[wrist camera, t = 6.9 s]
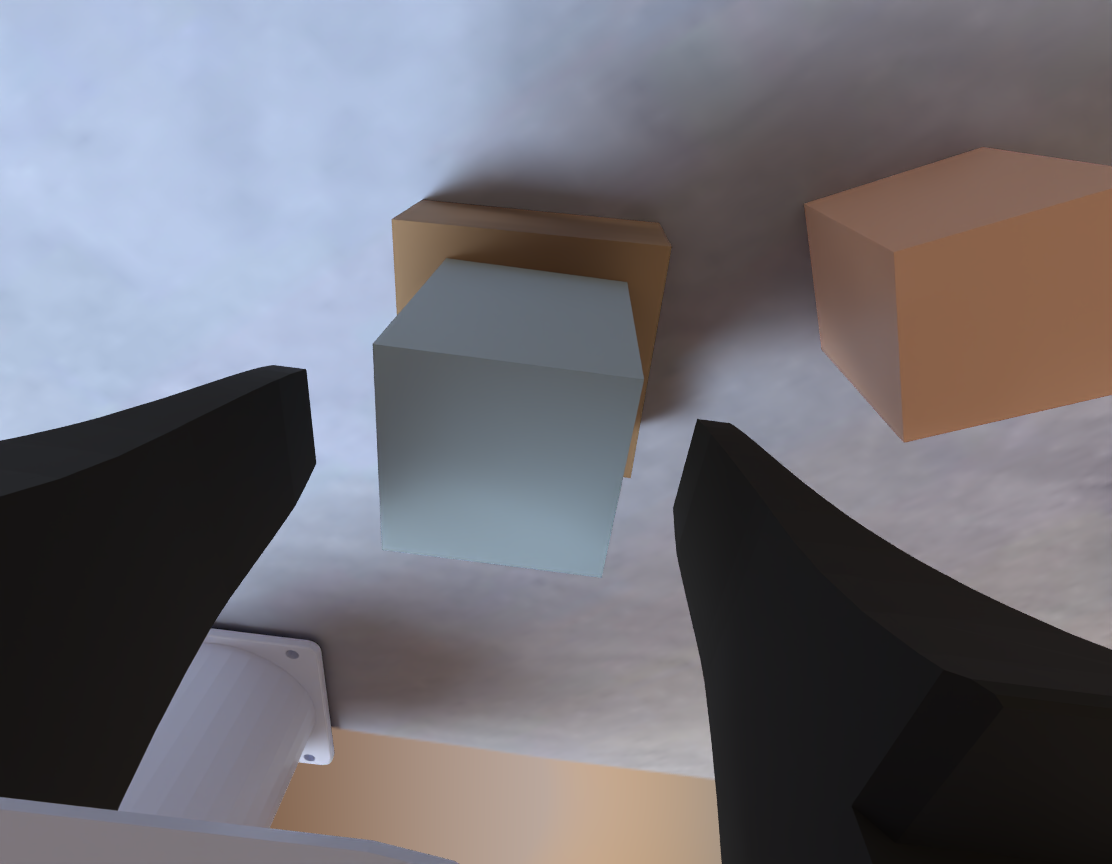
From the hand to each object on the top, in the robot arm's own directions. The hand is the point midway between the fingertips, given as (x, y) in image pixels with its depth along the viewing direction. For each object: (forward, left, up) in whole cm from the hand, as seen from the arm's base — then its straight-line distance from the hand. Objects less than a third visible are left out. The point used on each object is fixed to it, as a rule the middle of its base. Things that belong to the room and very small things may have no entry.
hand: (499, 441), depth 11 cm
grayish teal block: (0, 0, -4) cm, 4 cm away
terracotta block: (+9, +3, -6) cm, 11 cm away
